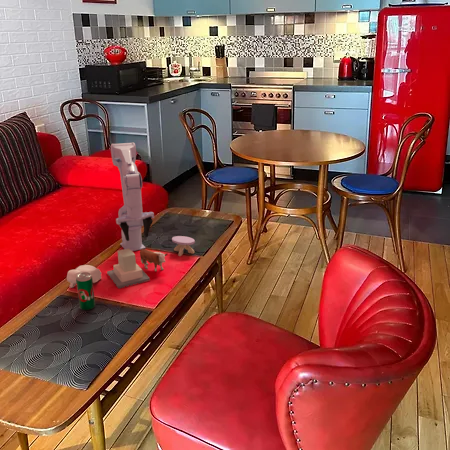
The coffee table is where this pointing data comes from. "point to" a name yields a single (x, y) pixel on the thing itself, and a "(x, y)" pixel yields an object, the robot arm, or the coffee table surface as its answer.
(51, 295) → the coffee table surface
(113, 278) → the tower base
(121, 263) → the sage brick
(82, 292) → the soda can
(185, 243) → the toy table
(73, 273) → the white lumpy shape
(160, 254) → the bull figurine
